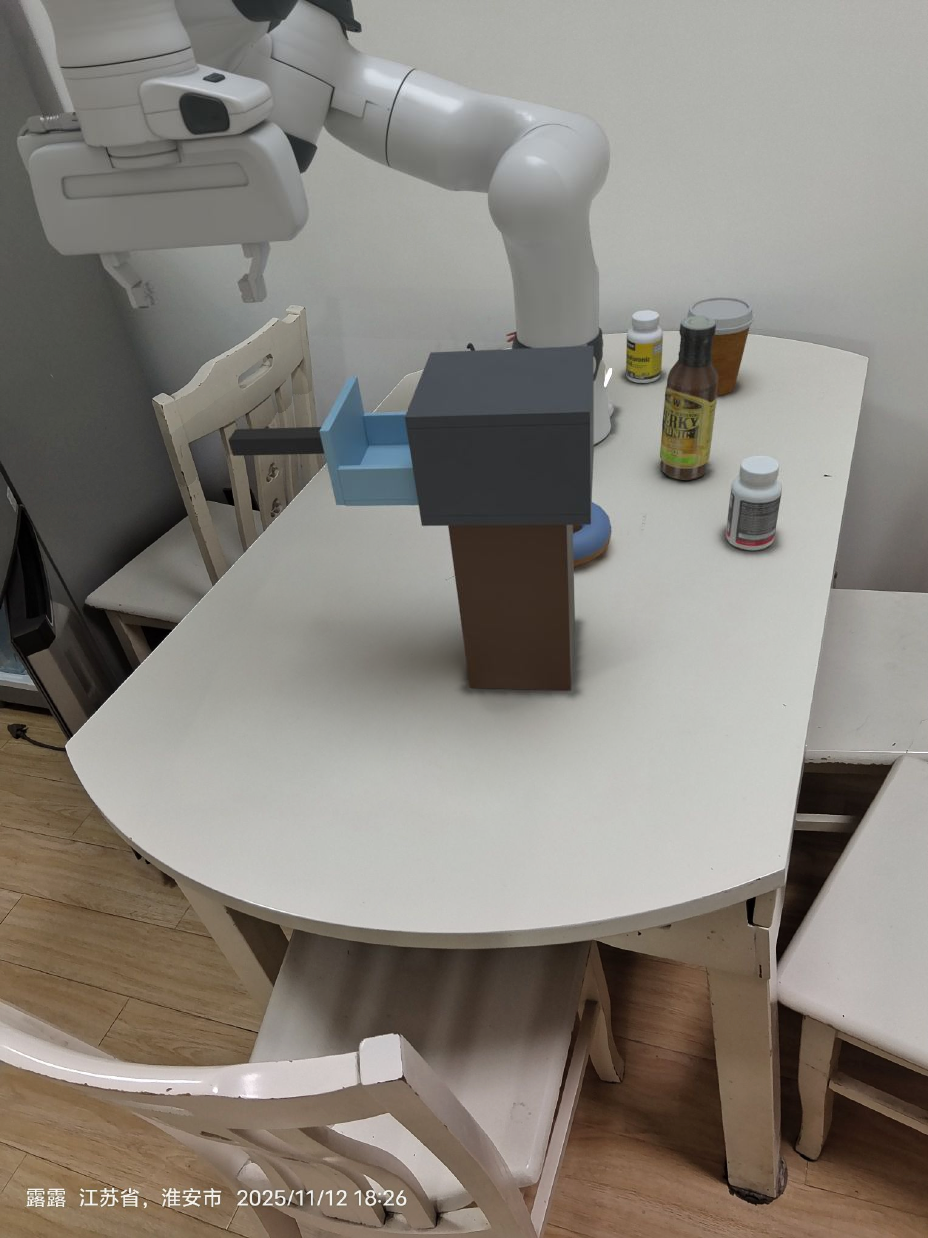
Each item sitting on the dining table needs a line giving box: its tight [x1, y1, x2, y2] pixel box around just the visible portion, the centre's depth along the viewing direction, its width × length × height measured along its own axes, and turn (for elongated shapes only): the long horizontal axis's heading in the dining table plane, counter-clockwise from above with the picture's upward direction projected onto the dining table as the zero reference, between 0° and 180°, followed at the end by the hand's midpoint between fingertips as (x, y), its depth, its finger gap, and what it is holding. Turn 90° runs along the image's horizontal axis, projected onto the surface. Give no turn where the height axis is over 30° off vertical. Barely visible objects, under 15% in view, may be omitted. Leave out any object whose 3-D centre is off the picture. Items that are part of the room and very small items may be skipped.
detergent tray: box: [227, 376, 419, 507], centre depth 74 cm, size 23×10×7 cm, turn 82°
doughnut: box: [573, 501, 612, 567], centre depth 100 cm, size 10×10×5 cm
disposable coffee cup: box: [684, 296, 755, 397], centre depth 125 cm, size 10×10×12 cm
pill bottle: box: [725, 455, 783, 551], centre depth 96 cm, size 5×5×10 cm
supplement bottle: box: [625, 309, 664, 384], centre depth 131 cm, size 5×5×10 cm
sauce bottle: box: [659, 316, 718, 481], centre depth 105 cm, size 6×6×20 cm
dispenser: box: [405, 346, 595, 691], centre depth 78 cm, size 14×12×30 cm
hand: (200, 302), depth 68 cm, fingers open, 8 cm apart
